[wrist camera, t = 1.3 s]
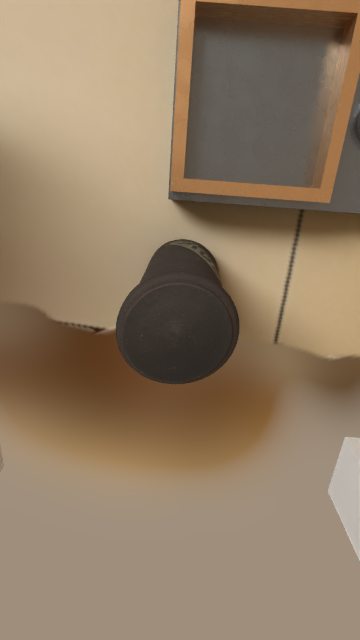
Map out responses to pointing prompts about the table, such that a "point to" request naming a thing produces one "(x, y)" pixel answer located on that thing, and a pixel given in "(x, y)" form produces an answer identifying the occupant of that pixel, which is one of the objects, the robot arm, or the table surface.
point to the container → (178, 317)
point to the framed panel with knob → (267, 104)
